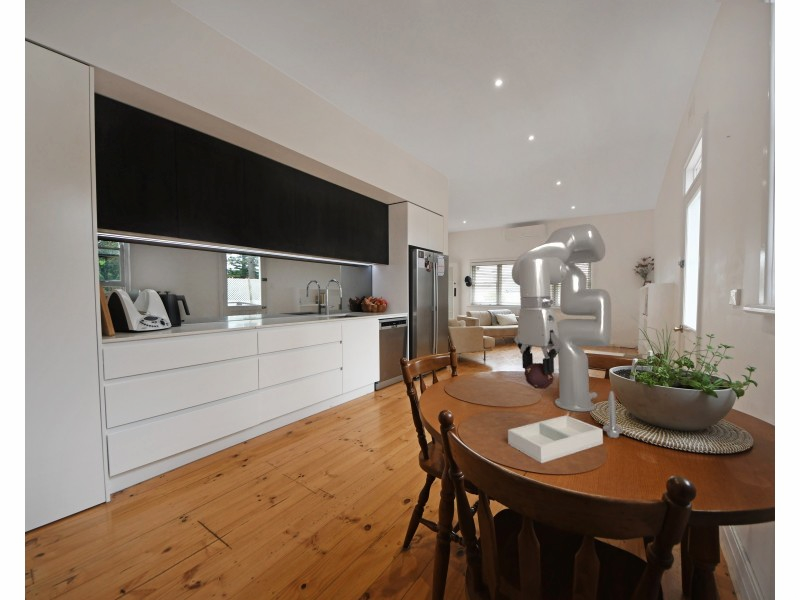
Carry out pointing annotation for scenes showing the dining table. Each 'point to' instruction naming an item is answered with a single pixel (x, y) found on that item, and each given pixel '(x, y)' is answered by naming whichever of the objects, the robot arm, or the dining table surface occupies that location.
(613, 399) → the screw
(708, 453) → the dining table surface
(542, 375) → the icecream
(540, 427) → the white divided tray
